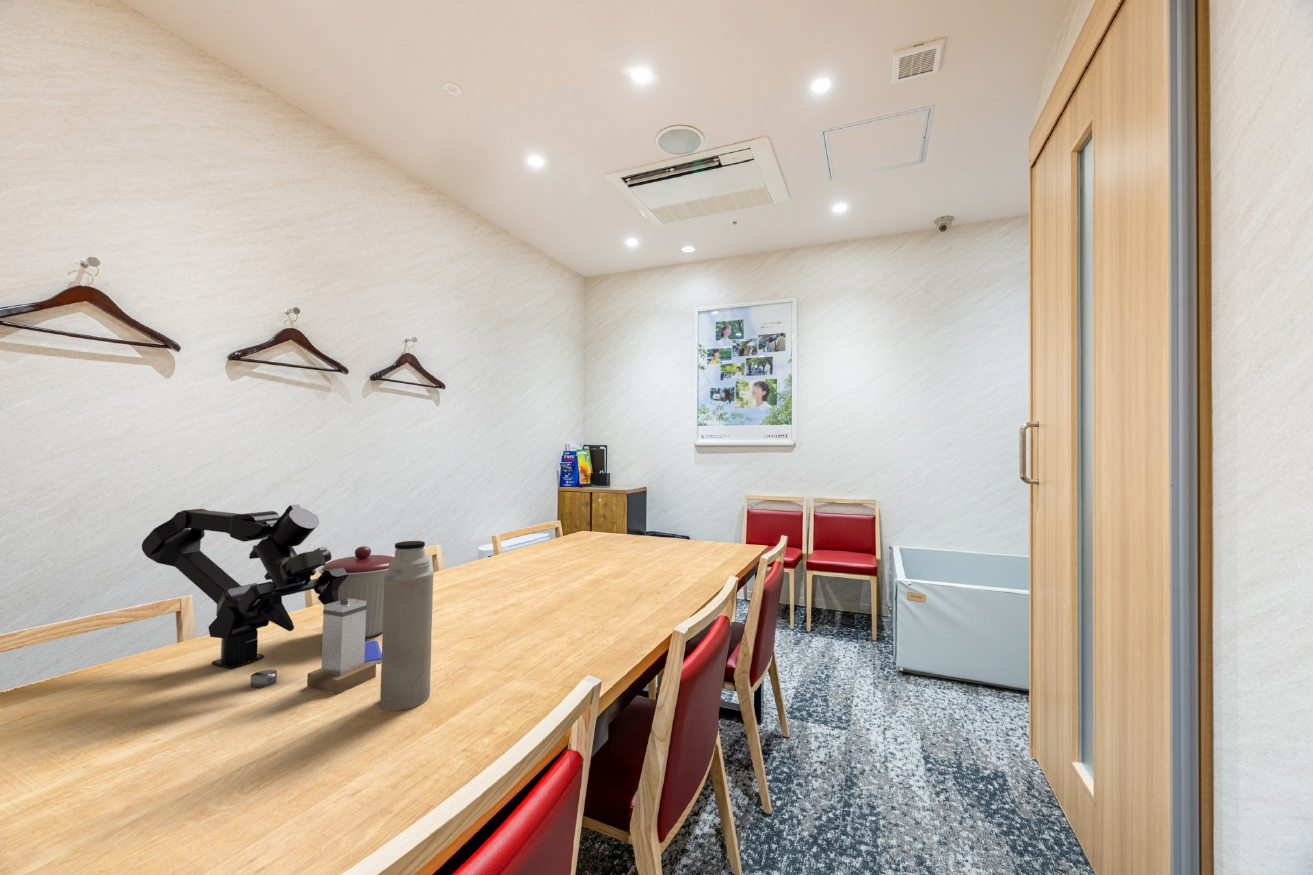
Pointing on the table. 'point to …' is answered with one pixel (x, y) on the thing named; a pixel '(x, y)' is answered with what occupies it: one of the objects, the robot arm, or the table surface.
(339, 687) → the stand
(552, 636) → the table surface
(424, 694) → the thermos bottle
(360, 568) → the canister
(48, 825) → the table surface
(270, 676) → the steel puck
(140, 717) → the table surface
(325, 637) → the plate
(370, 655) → the hard drive
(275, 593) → the robot arm
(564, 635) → the table surface
